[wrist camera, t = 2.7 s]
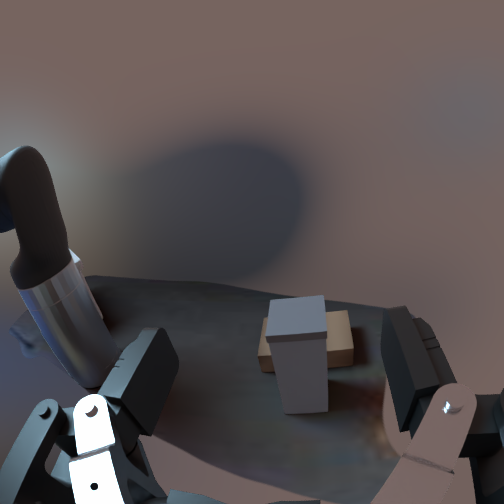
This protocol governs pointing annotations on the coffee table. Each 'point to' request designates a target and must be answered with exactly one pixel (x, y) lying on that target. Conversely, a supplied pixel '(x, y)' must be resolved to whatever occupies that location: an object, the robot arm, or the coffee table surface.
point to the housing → (299, 352)
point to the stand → (337, 343)
